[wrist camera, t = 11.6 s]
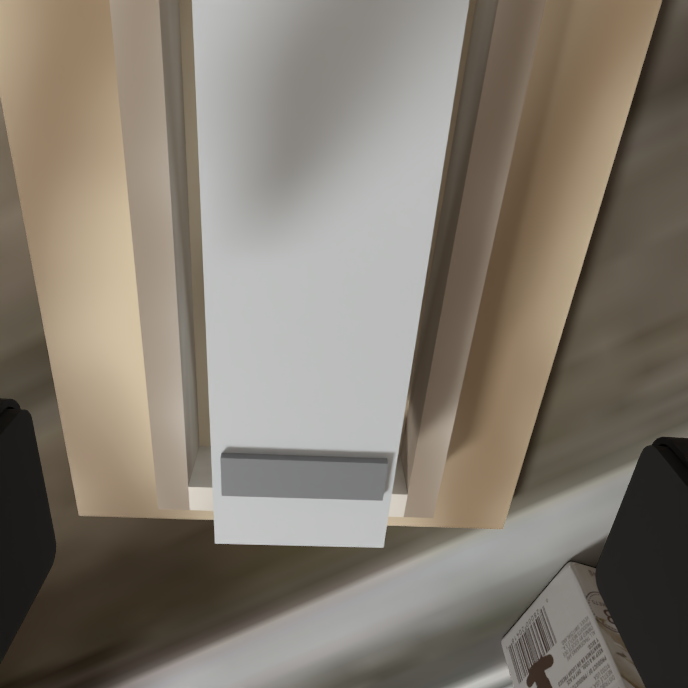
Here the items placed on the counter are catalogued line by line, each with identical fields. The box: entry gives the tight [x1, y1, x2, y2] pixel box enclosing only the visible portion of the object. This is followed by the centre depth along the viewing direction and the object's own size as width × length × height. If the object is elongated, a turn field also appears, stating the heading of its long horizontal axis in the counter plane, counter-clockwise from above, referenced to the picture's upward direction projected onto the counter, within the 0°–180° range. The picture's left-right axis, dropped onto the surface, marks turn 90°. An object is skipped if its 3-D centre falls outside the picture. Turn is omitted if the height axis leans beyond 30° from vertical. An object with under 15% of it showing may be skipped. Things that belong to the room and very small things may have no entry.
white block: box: [192, 0, 469, 548], centre depth 15 cm, size 4×13×5 cm, turn 175°
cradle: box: [0, 0, 662, 529], centre depth 16 cm, size 16×22×3 cm
